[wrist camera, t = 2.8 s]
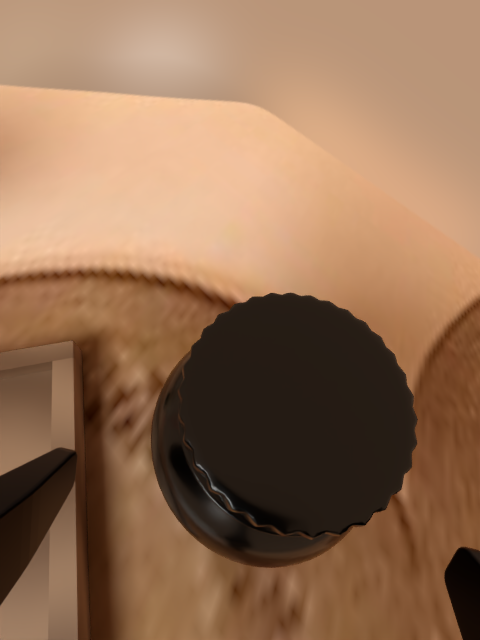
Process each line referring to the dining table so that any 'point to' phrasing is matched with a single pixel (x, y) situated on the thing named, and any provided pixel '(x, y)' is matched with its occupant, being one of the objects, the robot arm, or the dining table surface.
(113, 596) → the dining table surface
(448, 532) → the dining table surface
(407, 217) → the dining table surface
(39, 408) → the tray
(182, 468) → the supplement bottle
